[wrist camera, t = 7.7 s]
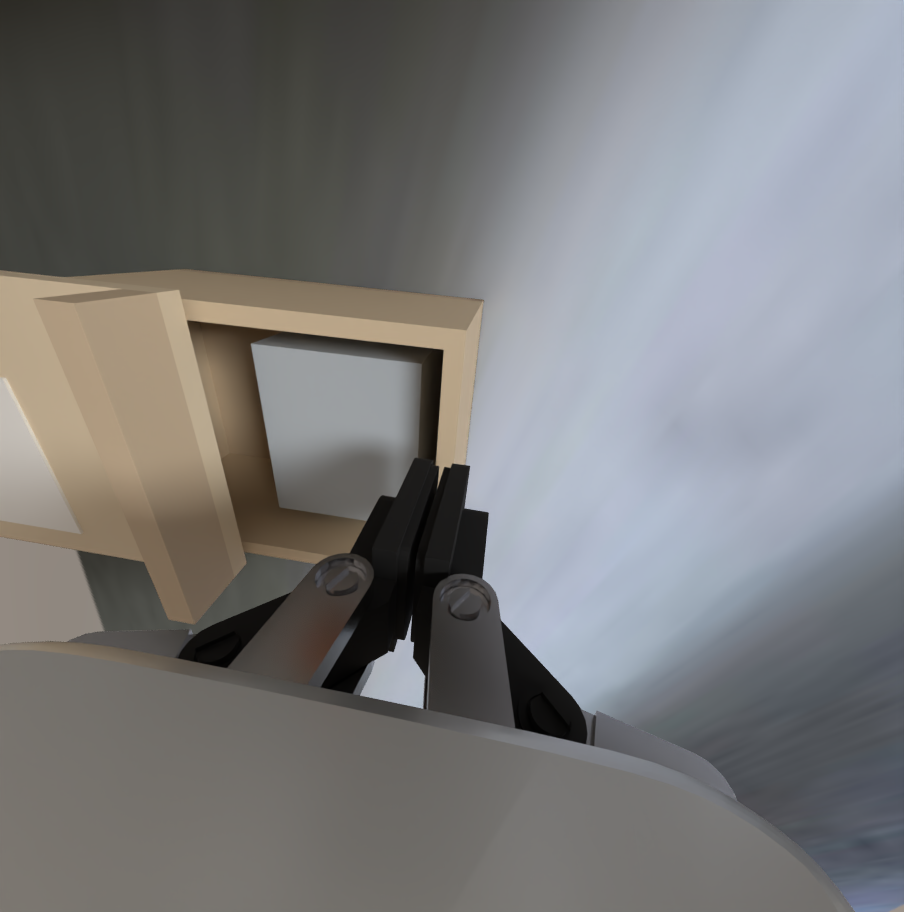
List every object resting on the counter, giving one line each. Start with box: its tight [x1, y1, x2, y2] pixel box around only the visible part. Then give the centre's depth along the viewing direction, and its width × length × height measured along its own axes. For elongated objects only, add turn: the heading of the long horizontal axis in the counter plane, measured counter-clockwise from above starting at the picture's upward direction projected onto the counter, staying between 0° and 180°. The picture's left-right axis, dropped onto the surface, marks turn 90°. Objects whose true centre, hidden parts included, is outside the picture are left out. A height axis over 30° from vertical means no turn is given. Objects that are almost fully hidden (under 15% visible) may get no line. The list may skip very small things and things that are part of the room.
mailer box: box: [66, 269, 484, 564], centre depth 17 cm, size 14×10×7 cm
